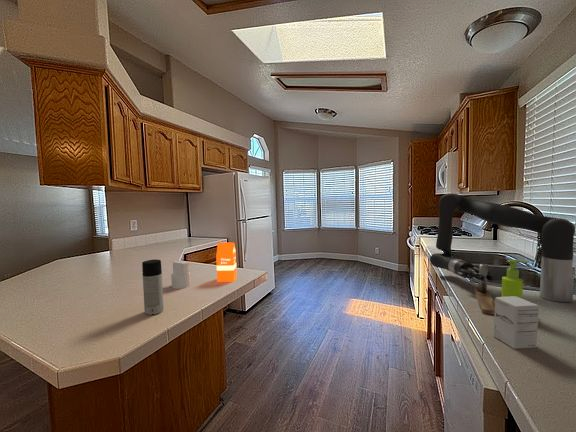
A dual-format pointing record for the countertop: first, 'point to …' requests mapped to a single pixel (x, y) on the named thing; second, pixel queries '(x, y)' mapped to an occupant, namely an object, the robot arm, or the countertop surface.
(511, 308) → the supplement box
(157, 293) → the spray can
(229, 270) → the orange juice
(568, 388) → the countertop surface
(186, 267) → the white lidded jar
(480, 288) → the base with upright cylinder
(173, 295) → the countertop surface
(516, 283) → the soap dispenser
